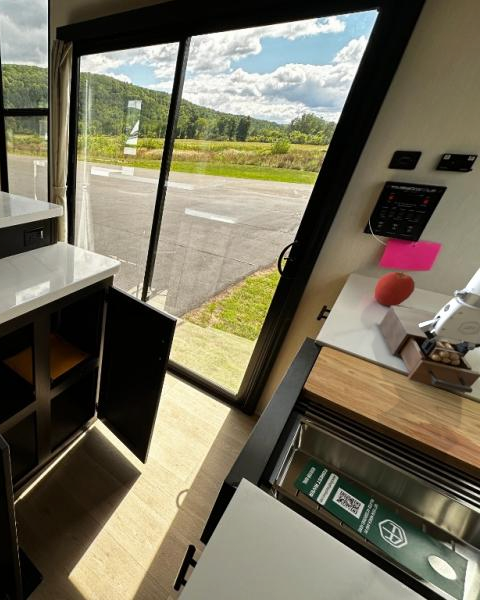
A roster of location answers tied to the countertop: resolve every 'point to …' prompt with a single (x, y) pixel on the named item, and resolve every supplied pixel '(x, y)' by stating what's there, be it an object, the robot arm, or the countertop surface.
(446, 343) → the bundle
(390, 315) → the cabinet
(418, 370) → the drawer
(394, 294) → the apple
